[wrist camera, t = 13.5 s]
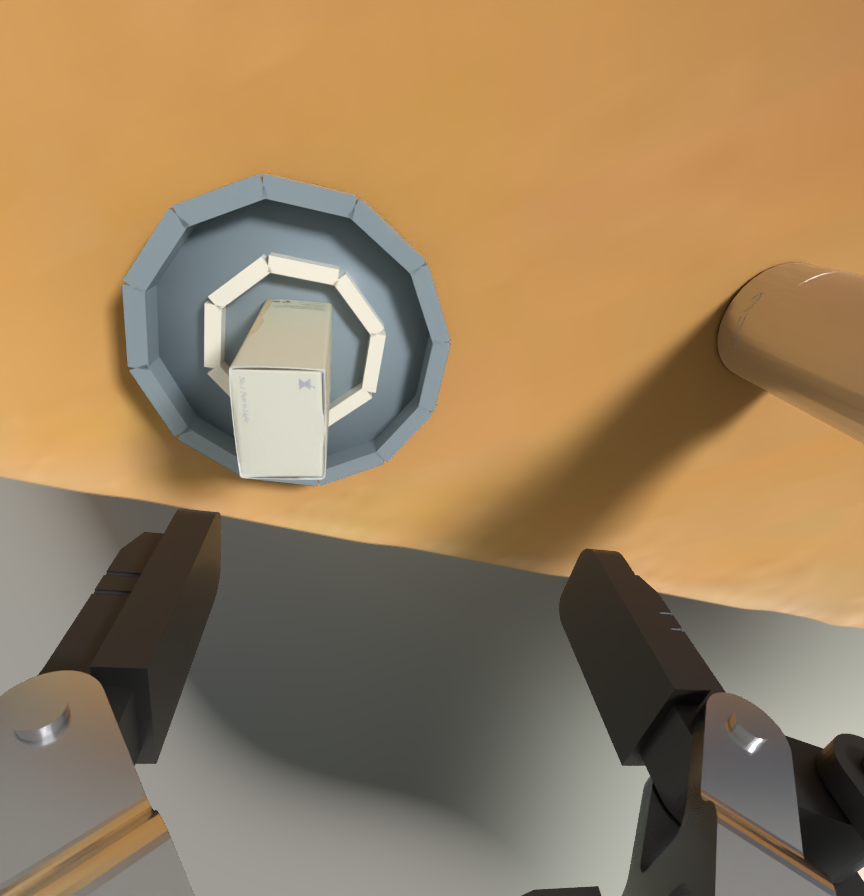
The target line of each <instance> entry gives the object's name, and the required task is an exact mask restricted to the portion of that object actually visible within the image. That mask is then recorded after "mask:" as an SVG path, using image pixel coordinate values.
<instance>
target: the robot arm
mask: <svg viewBox="0 0 864 896" xmlns="http://www.w3.org/2000/svg"><path fill="white" fill-rule="evenodd" d="M718 351H719V355H720V358H721V360H722V362H723V363H724V365H725V366H726V367H727V368H728V369H729V370H730V371H731V372H733V373H734V374H736V375H738V376H740V377H742V378H744V379H745V380H747V381H749V382H751V383H753V384H755V385H757V386H758V387H760V388H762V389H764V390H765V391H767V392H769V393H771V394H773V395H774V396H776V397H778V398H780V399H782V400H784V401H786V402H787V403H789V404H791V405H793V406H795V407H797V408H799V409H800V410H802V411H804V412H806V413H808V414H810V415H811V416H813V417H815V418H817V419H819V420H821V421H823V422H824V423H826V424H828V425H830V426H832V427H834V428H836V429H837V430H839V431H841V432H843V433H845V434H847V435H849V436H850V437H852V438H854V439H856V440H858V441H860V442H861V443H863V444H864V276H862V275H857V274H853V273H849V272H844V271H839V270H834V269H830V268H825V267H820V266H815V265H811V264H806V263H797V262H790V263H785V264H781V265H777V266H775V267H772V268H770V269H768V270H766V271H764V272H762V273H761V274H759V275H758V276H756V277H755V278H753V279H752V280H751V281H750V282H749V283H748V284H747V285H745V286H744V287H743V288H742V289H741V290H740V292H739V293H738V294H737V295H736V296H735V298H734V299H733V300H732V302H731V303H730V305H729V307H728V308H727V310H726V312H725V314H724V316H723V319H722V321H721V324H720V328H719V333H718ZM220 560H221V516H220V513H219V512H209V511H199V510H188V509H179V510H178V511H177V512H176V513H175V515H174V517H173V519H172V520H171V522H170V524H169V526H168V528H167V529H166V531H165V533H164V534H161V533H149V532H144V533H143V534H141V535H140V536H139V537H137V538H136V539H134V540H133V541H132V542H130V543H129V544H128V545H126V546H125V547H123V548H122V549H121V550H120V552H119V553H118V555H117V556H116V558H115V559H114V561H113V562H112V564H111V565H110V567H109V568H108V570H107V574H106V575H104V576H103V578H102V579H101V581H100V582H99V584H98V585H97V587H96V588H95V592H94V594H91V596H90V598H89V599H88V601H87V602H86V604H85V605H84V607H83V608H82V610H81V612H80V613H79V614H78V616H77V617H76V619H75V621H74V622H73V624H72V625H71V627H70V628H69V630H68V631H67V633H66V634H65V636H64V637H63V639H62V641H61V642H60V644H59V645H58V647H57V648H56V650H55V651H54V653H53V654H52V656H51V657H50V659H49V661H48V662H47V664H46V665H45V667H44V668H43V669H42V671H41V672H40V673H39V675H37V676H36V677H33V678H30V679H28V680H26V681H24V682H22V683H20V684H18V685H16V686H15V687H13V688H11V689H9V690H8V691H7V692H5V693H4V694H3V695H1V696H0V896H195V895H194V893H193V890H192V888H191V886H190V883H189V881H188V878H187V876H186V873H185V871H184V869H183V866H182V864H181V861H180V859H179V856H178V854H177V851H176V849H175V846H174V844H173V841H172V839H171V836H170V834H169V832H168V829H167V827H166V825H165V823H164V821H163V819H162V817H161V816H160V814H159V813H158V811H156V810H155V811H154V810H153V809H152V807H151V806H150V804H149V801H148V799H147V797H146V794H145V792H144V790H143V787H142V785H141V782H140V779H139V777H138V774H137V772H136V769H135V767H134V766H135V764H156V763H157V760H158V758H159V755H160V752H161V749H162V746H163V744H164V741H165V738H166V735H167V732H168V730H169V727H170V724H171V721H172V718H173V716H174V713H175V710H176V707H177V704H178V701H179V699H180V696H181V693H182V690H183V688H184V685H185V682H186V679H187V676H188V674H189V671H190V668H191V665H192V662H193V660H194V657H195V654H196V651H197V648H198V646H199V642H200V640H201V637H202V634H203V631H204V629H205V626H206V623H207V620H208V617H209V615H210V612H211V609H212V606H213V603H214V601H215V597H216V594H217V589H218V584H219V578H220ZM559 613H560V619H561V623H562V625H563V628H564V630H565V632H566V635H567V637H568V639H569V641H570V644H571V647H572V649H573V651H574V653H575V656H576V658H577V661H578V663H579V665H580V667H581V670H582V672H583V675H584V677H585V679H586V682H587V684H588V686H589V689H590V691H591V694H592V696H593V698H594V701H595V703H596V705H597V708H598V710H599V712H600V715H601V717H602V719H603V722H604V724H605V726H606V728H607V731H608V734H609V736H610V738H611V741H612V743H613V745H614V748H615V750H616V752H617V754H618V757H619V759H620V762H621V764H622V766H624V765H625V766H632V765H633V766H643V765H645V766H646V767H647V770H648V772H649V774H650V777H649V778H648V780H647V781H646V783H645V785H644V789H643V795H642V800H641V806H640V812H639V818H638V824H637V829H636V836H635V841H634V847H633V853H632V859H631V864H630V870H629V876H628V880H627V884H626V886H625V889H624V892H623V894H622V896H864V882H863V880H862V879H861V877H860V876H859V874H858V872H857V871H859V870H860V869H861V868H863V867H864V738H862V737H859V736H856V735H852V734H840V735H838V736H836V737H835V738H834V739H833V740H832V741H831V742H830V743H829V744H828V745H827V746H826V747H825V748H824V749H822V748H820V747H817V746H814V745H811V744H808V743H805V742H802V741H799V740H796V739H793V738H791V737H788V736H785V735H784V734H783V732H782V731H781V729H780V728H779V727H778V725H777V724H776V723H775V722H774V721H773V720H772V719H771V718H770V717H769V716H768V715H767V714H766V713H765V712H764V711H762V710H761V709H760V708H758V707H757V706H756V705H754V704H753V703H751V702H749V701H748V700H746V699H744V698H742V697H740V696H737V695H734V694H731V693H726V692H725V691H724V689H723V688H722V686H721V685H720V683H719V682H718V681H717V679H716V677H715V676H714V675H713V673H712V672H711V670H710V669H709V667H708V666H707V664H706V663H705V661H704V660H703V658H702V657H701V655H700V654H699V653H698V651H697V650H696V648H695V647H694V645H693V644H692V642H691V641H690V639H689V638H688V636H687V635H686V634H685V632H682V631H681V626H680V625H679V623H678V622H677V620H676V619H675V617H674V616H671V614H670V613H671V612H670V610H669V609H668V607H667V606H666V604H665V603H664V601H663V600H662V598H661V597H660V595H659V594H658V593H657V592H656V591H655V590H654V589H653V588H652V587H651V586H650V585H648V584H647V583H646V582H645V581H644V580H643V579H642V578H641V577H640V576H638V575H635V574H634V572H633V571H632V569H631V568H630V566H629V565H628V563H627V562H626V560H625V559H624V557H623V556H622V555H621V554H620V553H619V552H616V551H606V550H596V549H585V550H583V551H582V552H581V554H580V556H579V558H578V560H577V562H576V564H575V566H574V569H573V571H572V573H571V575H570V577H569V580H568V582H567V584H566V586H565V588H564V591H563V593H562V595H561V598H560V604H559ZM522 896H601V894H600V891H599V888H598V886H595V887H577V888H559V889H541V890H533V891H531V892H529V893H526V894H524V895H522Z"/></svg>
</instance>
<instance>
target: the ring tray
mask: <svg viewBox="0 0 864 896" xmlns="http://www.w3.org/2000/svg"><path fill="white" fill-rule="evenodd" d="M356 197H357V196H356V194H352V193H347V192H343V191H339V190H335V189H331V188H327V187H324V186H320V185H317V184H313V183H308V182H302V181H298V180H294V179H289V178H285V177H281V176H277V175H273V174H257V175H255V176H252V177H249V178H246V179H244V180H241V181H238V182H235V183H233V184H230V185H227V186H224V187H222V188H219V189H216V190H214V191H211V192H208V193H205V194H203V195H200V196H197V197H194V198H192V199H189V200H186V201H183V202H181V203H178V204H175V205H172V207H173V208H169V209H168V210H167V212H166V213H165V215H164V216H163V218H162V220H161V221H160V223H159V224H158V226H157V228H156V229H155V231H154V232H153V234H152V235H151V237H150V239H149V240H148V242H147V243H146V245H145V247H144V248H143V250H142V251H141V253H140V254H139V256H138V258H137V259H136V261H135V262H134V264H133V265H132V267H131V269H130V270H129V272H128V273H127V275H126V277H125V278H124V280H123V281H124V282H126V283H124V284H122V292H123V307H124V321H125V336H126V350H127V364H128V367H132V368H131V369H130V370H129V371H130V373H131V374H132V376H133V377H134V379H135V380H136V381H137V383H138V384H139V386H140V387H141V389H142V390H143V392H144V393H145V395H146V396H147V398H148V399H149V400H150V402H151V403H152V405H153V406H154V408H155V409H156V411H157V412H158V414H159V415H160V417H161V418H162V419H163V421H164V422H165V424H166V425H167V427H168V428H169V430H170V431H171V433H172V434H173V436H174V437H175V436H178V435H180V436H179V437H178V439H177V440H179V441H181V442H183V443H184V444H186V445H188V446H190V447H191V448H193V449H195V450H197V451H198V452H200V453H202V454H203V455H205V456H207V457H209V458H210V459H212V460H214V461H216V462H217V463H219V464H221V465H223V466H224V467H226V468H228V469H229V470H231V471H233V472H235V473H236V474H238V475H240V474H239V467H238V460H237V453H236V445H235V438H234V429H233V421H232V411H231V401H230V386H229V367H230V366H231V364H232V362H233V361H234V359H235V357H236V355H237V353H238V352H239V350H240V348H241V346H242V344H243V342H244V340H245V339H246V337H247V335H248V333H249V331H250V329H251V327H252V326H253V324H254V322H255V320H256V318H257V316H258V314H259V312H260V310H261V309H262V307H263V305H264V303H265V301H266V300H267V299H283V300H299V301H312V302H322V303H330V304H331V306H332V364H331V389H330V407H329V425H328V442H327V461H326V475H325V478H324V479H322V480H293V479H256V480H266V481H275V482H284V483H294V484H303V485H313V486H317V485H318V481H319V483H320V485H324V484H327V483H330V482H333V481H336V480H339V479H342V478H345V477H347V476H350V475H353V474H356V473H359V472H362V471H365V470H368V469H371V468H374V467H377V466H380V465H383V464H384V461H386V462H388V461H389V460H390V459H391V457H392V456H393V455H394V454H395V453H396V452H397V451H398V450H399V449H400V448H401V447H402V446H403V445H404V444H405V443H406V442H407V441H408V440H409V439H410V438H411V437H412V436H413V434H414V433H415V432H416V431H417V430H418V429H419V428H420V427H421V426H422V425H423V424H424V423H425V422H426V421H427V420H428V419H429V418H430V417H431V416H432V412H434V410H435V406H436V402H437V398H438V394H439V390H440V386H441V382H442V378H443V373H444V369H445V365H446V361H447V357H448V353H449V349H450V345H451V344H450V342H449V341H450V336H449V333H448V330H447V326H446V323H445V320H444V316H443V313H442V310H441V306H440V303H439V300H438V296H437V293H436V290H435V286H434V283H433V279H432V276H431V273H430V269H429V266H428V264H427V263H426V260H425V259H424V258H423V257H422V256H421V255H420V254H419V253H418V252H417V251H416V250H415V249H414V248H413V247H412V246H411V245H410V244H409V243H408V242H407V241H406V240H405V239H404V238H403V237H402V236H401V235H400V234H399V233H397V232H396V230H395V229H394V228H393V227H392V226H391V225H390V224H389V223H387V222H386V221H385V220H384V219H383V218H382V217H381V216H380V215H379V214H378V213H377V212H376V211H375V210H373V209H372V208H371V207H370V206H369V205H368V204H367V203H366V202H365V201H364V200H363V199H362V198H361V197H360V198H359V199H358V200H356ZM431 411H432V412H431ZM247 479H251V478H247Z"/></svg>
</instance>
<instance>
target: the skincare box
mask: <svg viewBox="0 0 864 896" xmlns="http://www.w3.org/2000/svg"><path fill="white" fill-rule="evenodd" d="M331 364H332V306H331V304H330V303H322V302H312V301H299V300H283V299H267V300H266V301H265V303H264V305H263V307H262V309H261V310H260V312H259V314H258V316H257V318H256V320H255V322H254V324H253V326H252V327H251V329H250V331H249V333H248V335H247V337H246V339H245V340H244V342H243V344H242V346H241V348H240V350H239V352H238V353H237V355H236V357H235V359H234V361H233V362H232V364H231V366H230V367H229V386H230V401H231V411H232V421H233V429H234V438H235V445H236V453H237V460H238V467H239V474H240V477H241V478H251V479H293V480H322V479H324V478H325V475H326V461H327V442H328V425H329V407H330V389H331Z"/></svg>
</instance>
